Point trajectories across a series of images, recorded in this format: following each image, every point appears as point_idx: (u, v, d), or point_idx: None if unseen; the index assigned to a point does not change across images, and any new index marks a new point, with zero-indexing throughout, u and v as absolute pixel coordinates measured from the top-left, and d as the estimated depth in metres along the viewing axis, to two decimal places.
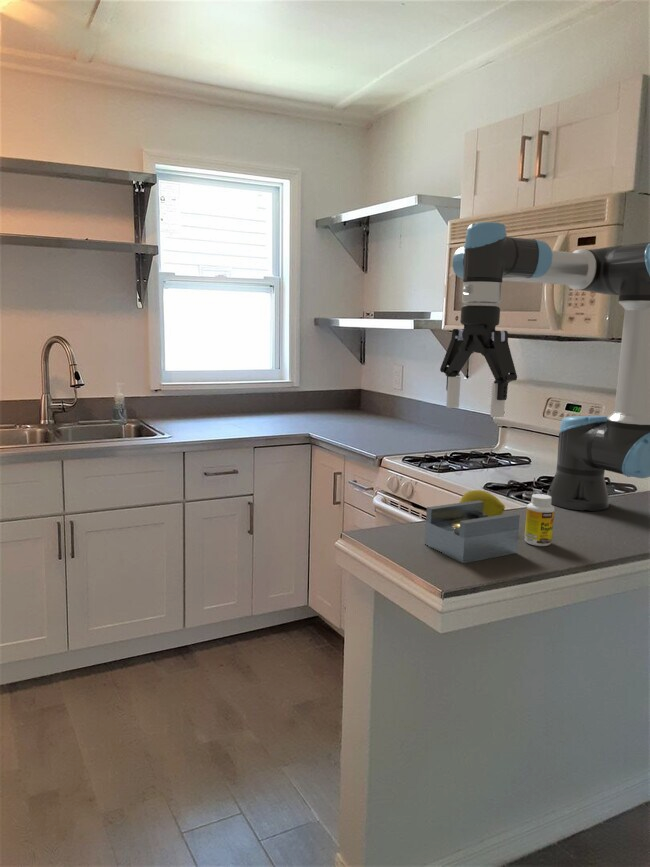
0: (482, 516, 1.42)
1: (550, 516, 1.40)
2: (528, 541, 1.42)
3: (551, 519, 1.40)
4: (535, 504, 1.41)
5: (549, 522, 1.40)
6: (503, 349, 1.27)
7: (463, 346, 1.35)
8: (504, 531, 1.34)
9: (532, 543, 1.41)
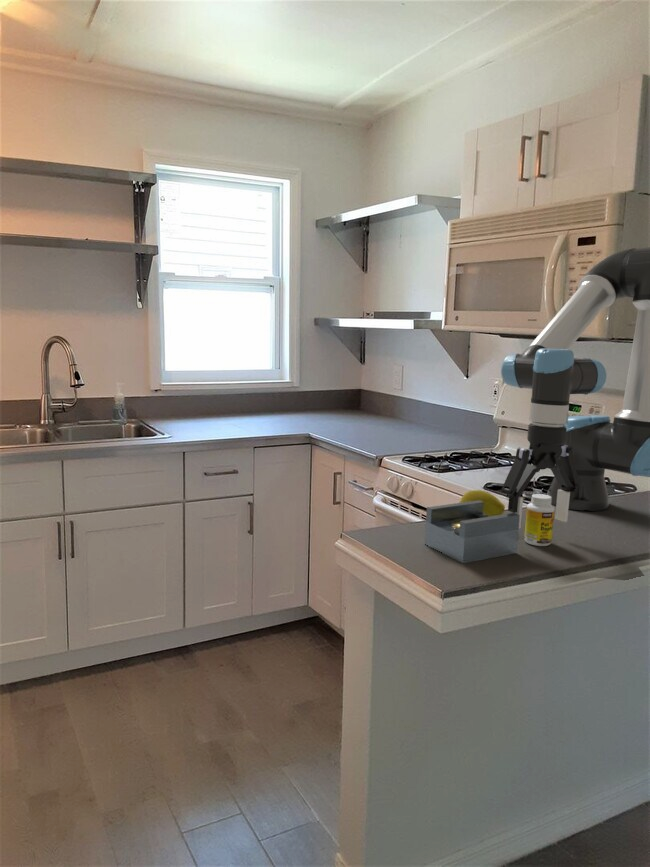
0: (482, 516, 1.42)
1: (550, 516, 1.40)
2: (528, 541, 1.42)
3: (551, 519, 1.40)
4: (535, 504, 1.41)
5: (549, 521, 1.40)
6: (515, 465, 1.37)
7: None
8: (504, 531, 1.34)
9: (532, 543, 1.41)
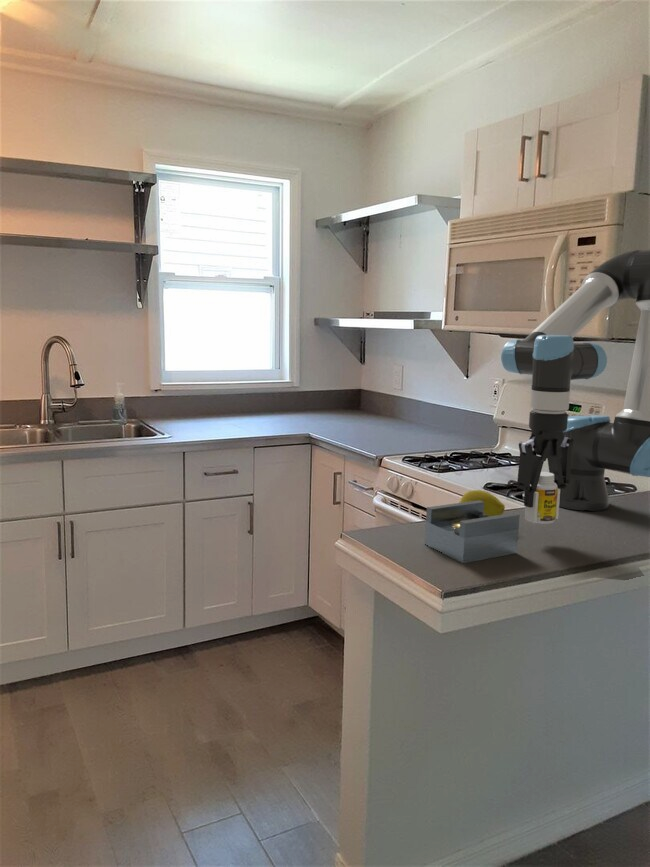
0: (482, 516, 1.42)
1: (553, 494, 1.39)
2: None
3: (554, 496, 1.40)
4: (538, 482, 1.40)
5: (553, 499, 1.40)
6: (522, 460, 1.38)
7: None
8: (504, 531, 1.34)
9: None
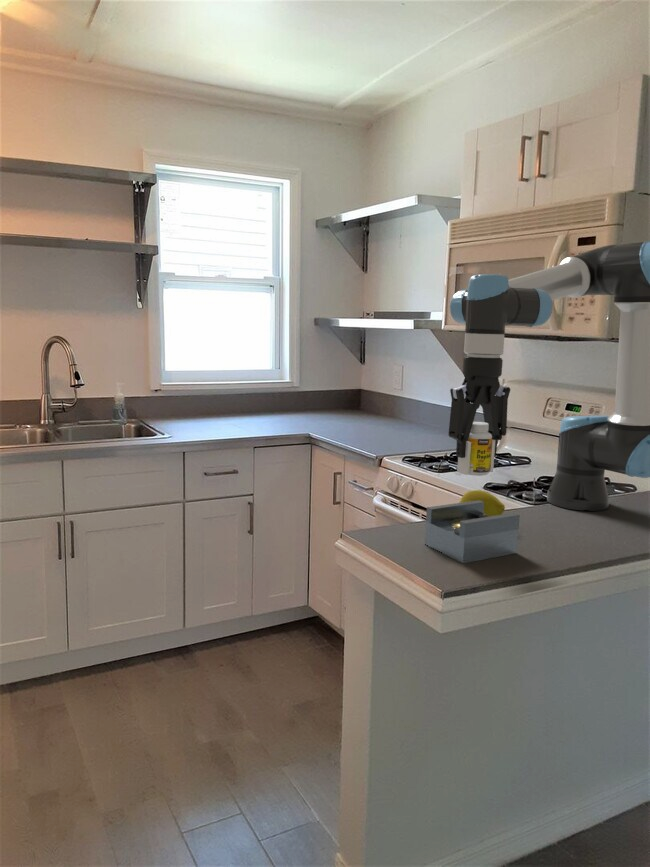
0: (482, 516, 1.42)
1: (487, 443, 1.32)
2: None
3: (488, 446, 1.33)
4: (471, 431, 1.33)
5: (486, 449, 1.32)
6: (453, 407, 1.31)
7: None
8: (504, 531, 1.34)
9: None
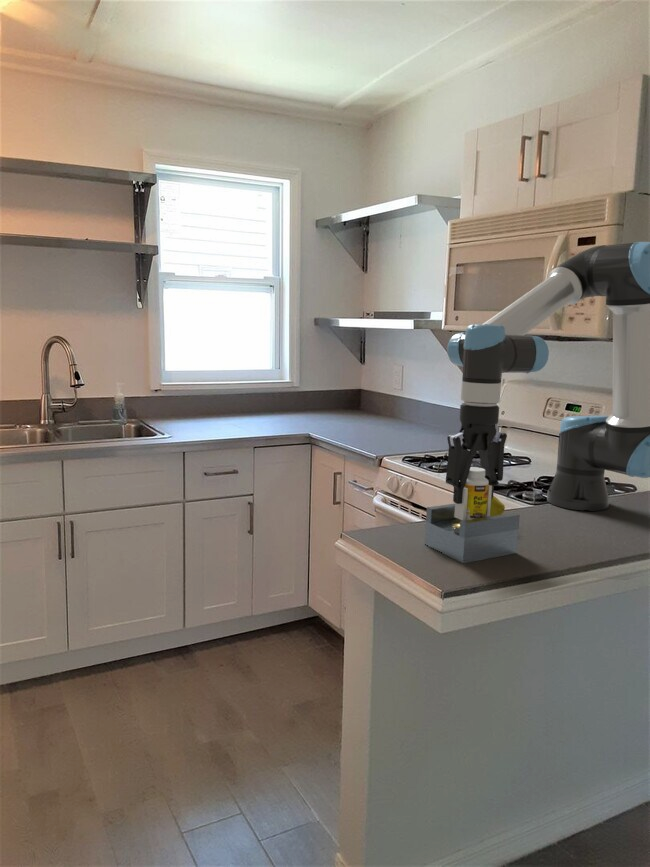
0: None
1: (483, 490, 1.34)
2: None
3: (484, 493, 1.34)
4: (468, 477, 1.35)
5: (483, 495, 1.34)
6: (450, 454, 1.32)
7: None
8: (504, 531, 1.34)
9: None
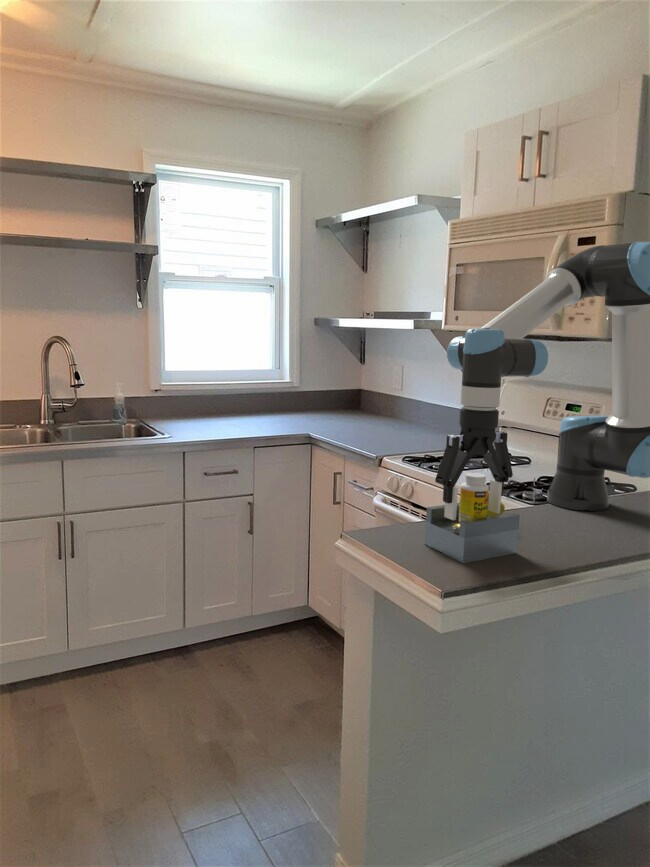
0: None
1: (484, 496, 1.34)
2: None
3: (485, 499, 1.34)
4: (468, 483, 1.35)
5: (483, 501, 1.34)
6: (446, 453, 1.32)
7: None
8: (504, 531, 1.34)
9: None
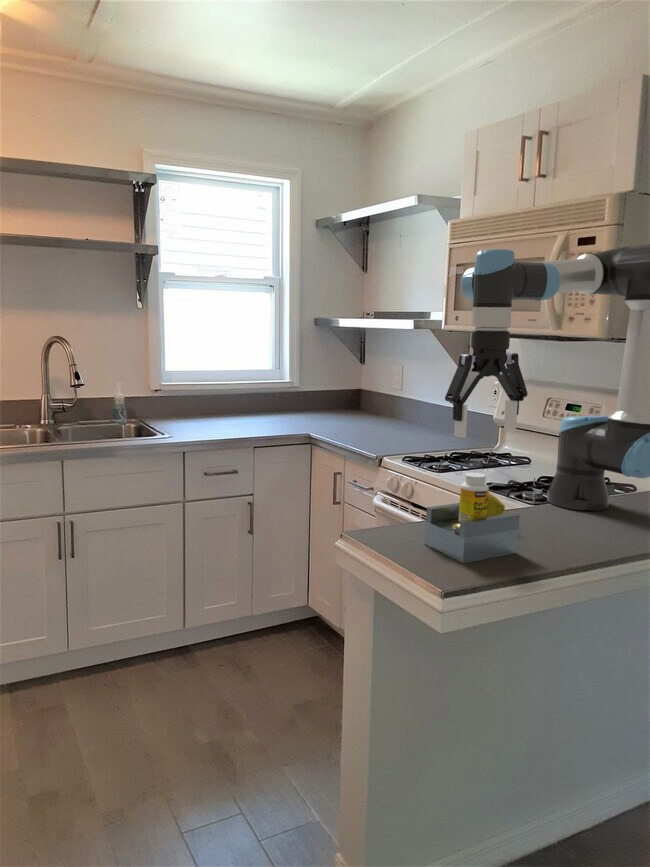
0: None
1: (484, 496, 1.34)
2: None
3: (485, 498, 1.34)
4: (468, 483, 1.35)
5: (483, 501, 1.34)
6: (458, 372, 1.33)
7: None
8: (504, 531, 1.34)
9: None
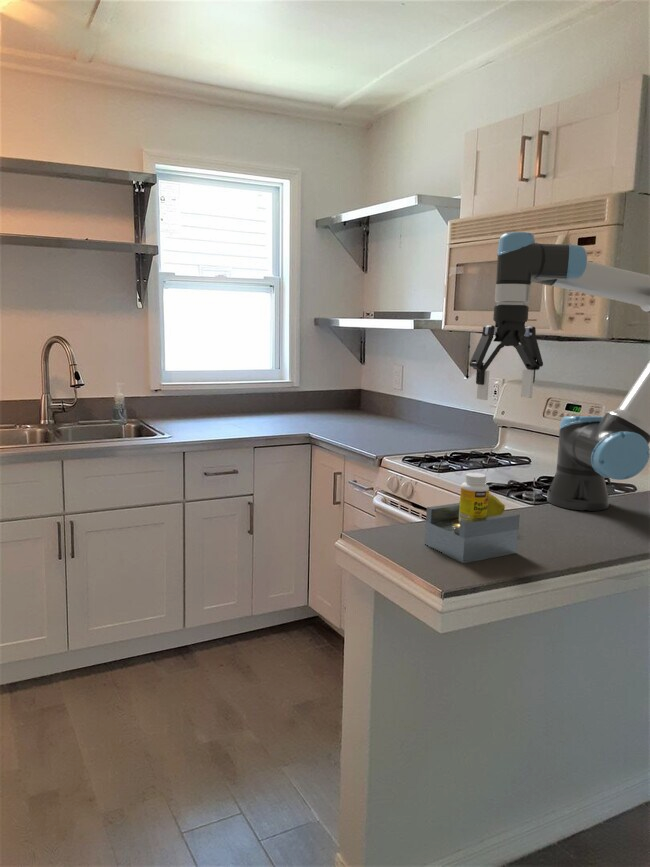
0: None
1: (484, 496, 1.34)
2: None
3: (485, 498, 1.34)
4: (468, 483, 1.35)
5: (483, 501, 1.34)
6: (481, 341, 1.50)
7: None
8: (504, 531, 1.34)
9: None
